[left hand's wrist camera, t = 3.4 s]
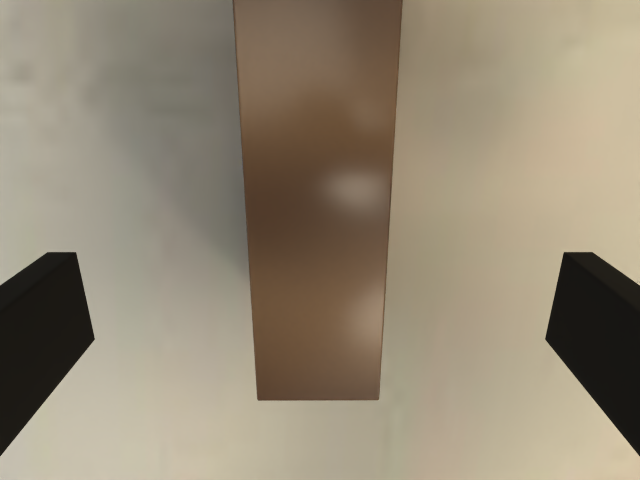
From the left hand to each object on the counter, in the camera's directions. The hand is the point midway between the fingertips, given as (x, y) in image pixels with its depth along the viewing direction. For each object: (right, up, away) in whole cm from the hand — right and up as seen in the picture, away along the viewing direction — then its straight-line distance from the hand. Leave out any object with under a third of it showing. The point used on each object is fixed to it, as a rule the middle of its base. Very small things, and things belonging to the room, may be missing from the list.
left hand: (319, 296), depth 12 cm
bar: (0, +22, +5) cm, 23 cm away
